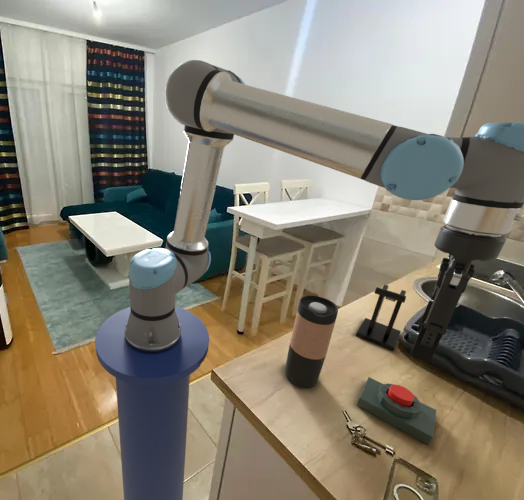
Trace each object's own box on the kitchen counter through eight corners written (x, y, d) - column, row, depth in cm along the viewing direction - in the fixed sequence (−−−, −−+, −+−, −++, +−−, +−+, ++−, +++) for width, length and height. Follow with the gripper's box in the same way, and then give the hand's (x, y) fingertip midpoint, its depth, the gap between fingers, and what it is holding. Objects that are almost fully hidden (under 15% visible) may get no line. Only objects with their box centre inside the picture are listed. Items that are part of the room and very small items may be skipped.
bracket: (393, 351, 77) (411, 304, 72) (355, 335, 83) (370, 290, 78) (399, 334, 84) (416, 290, 78) (364, 320, 90) (378, 278, 84)
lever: (403, 304, 68) (406, 294, 68) (373, 294, 72) (377, 285, 71) (403, 304, 78) (406, 296, 78) (377, 296, 82) (380, 288, 82)
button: (385, 398, 59) (388, 392, 58) (389, 387, 62) (392, 381, 61) (410, 411, 56) (413, 404, 56) (412, 398, 59) (415, 392, 58)
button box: (356, 405, 62) (361, 391, 60) (365, 383, 67) (370, 370, 65) (428, 445, 54) (436, 430, 52) (432, 417, 59) (439, 403, 58)
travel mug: (299, 360, 73) (316, 292, 66) (325, 382, 67) (347, 310, 59) (276, 369, 70) (291, 299, 63) (301, 394, 64) (321, 318, 56)
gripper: (515, 255, 35) (446, 390, 44) (502, 221, 50) (452, 327, 59) (436, 239, 40) (387, 364, 49) (446, 213, 55) (407, 311, 64)
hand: (423, 343), depth 54 cm, fingers open, 9 cm apart
